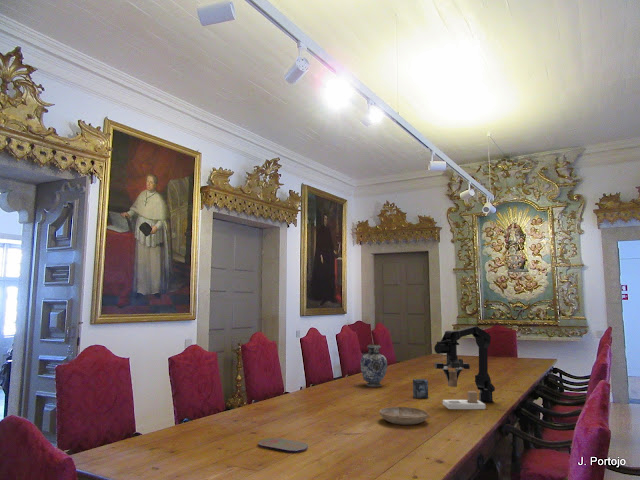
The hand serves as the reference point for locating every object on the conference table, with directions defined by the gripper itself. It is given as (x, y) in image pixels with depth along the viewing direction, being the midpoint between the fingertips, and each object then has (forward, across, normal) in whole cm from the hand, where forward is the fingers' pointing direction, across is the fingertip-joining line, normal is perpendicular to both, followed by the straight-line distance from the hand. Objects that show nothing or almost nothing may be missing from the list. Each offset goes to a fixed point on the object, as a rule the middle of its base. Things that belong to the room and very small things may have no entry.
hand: (452, 381), depth 264 cm
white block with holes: (+13, +5, -2) cm, 14 cm away
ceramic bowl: (+14, -34, -36) cm, 51 cm away
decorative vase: (+13, -37, +64) cm, 75 cm away
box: (+14, -13, +23) cm, 30 cm away
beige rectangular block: (+2, 0, 0) cm, 2 cm away
